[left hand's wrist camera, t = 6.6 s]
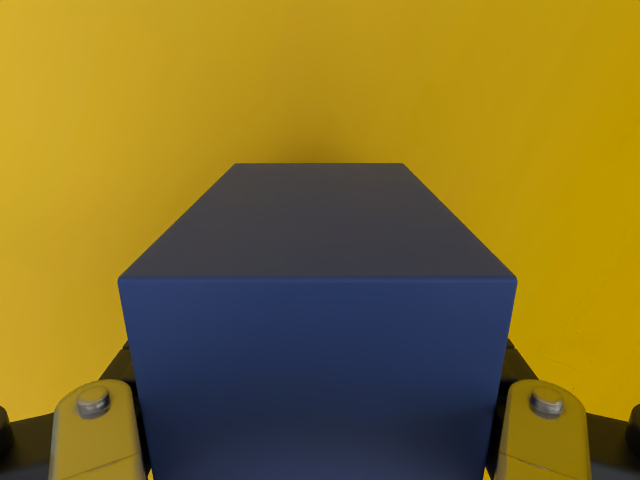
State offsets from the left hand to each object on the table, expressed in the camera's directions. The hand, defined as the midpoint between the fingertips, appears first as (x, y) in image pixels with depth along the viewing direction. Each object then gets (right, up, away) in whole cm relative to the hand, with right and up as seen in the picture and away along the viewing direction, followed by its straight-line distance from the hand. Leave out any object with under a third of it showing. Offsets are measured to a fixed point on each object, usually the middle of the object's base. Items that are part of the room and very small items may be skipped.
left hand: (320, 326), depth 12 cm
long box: (0, -6, +8) cm, 10 cm away
